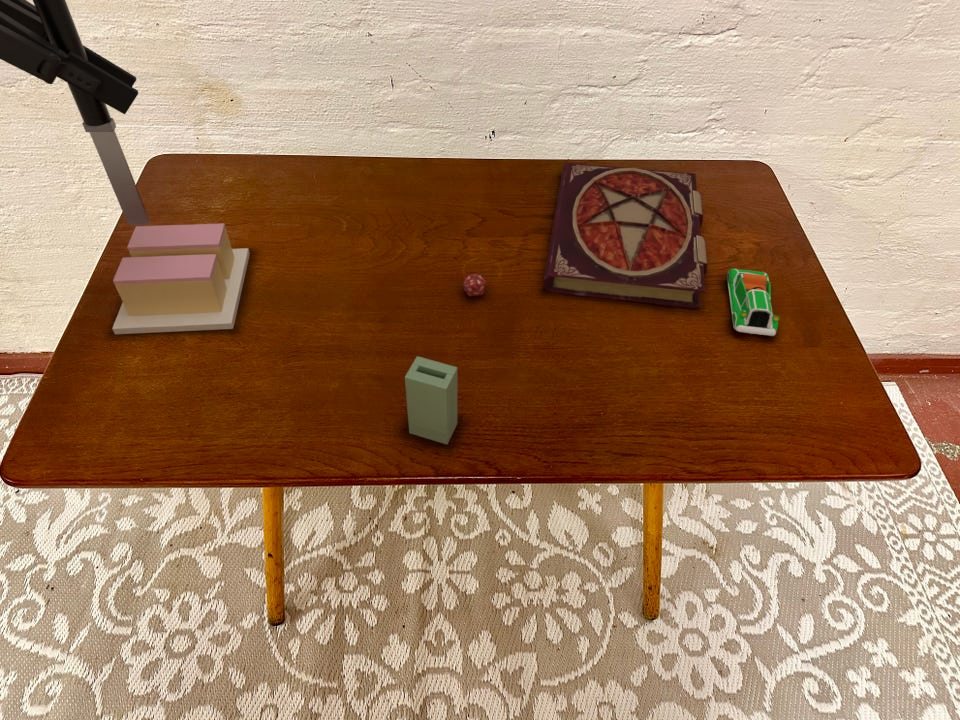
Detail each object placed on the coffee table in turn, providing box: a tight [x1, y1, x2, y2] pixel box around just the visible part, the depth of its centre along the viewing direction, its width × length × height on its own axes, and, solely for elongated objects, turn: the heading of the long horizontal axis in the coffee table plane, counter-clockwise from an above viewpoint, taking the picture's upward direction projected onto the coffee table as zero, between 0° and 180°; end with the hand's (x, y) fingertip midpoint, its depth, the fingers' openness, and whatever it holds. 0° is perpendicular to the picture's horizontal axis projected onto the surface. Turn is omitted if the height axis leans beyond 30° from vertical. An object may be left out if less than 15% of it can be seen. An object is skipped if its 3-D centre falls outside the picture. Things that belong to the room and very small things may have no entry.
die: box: [462, 273, 487, 297], centre depth 88 cm, size 3×3×3 cm
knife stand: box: [404, 355, 459, 445], centre depth 71 cm, size 3×4×9 cm
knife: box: [32, 0, 151, 226], centre depth 71 cm, size 3×3×26 cm
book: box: [542, 162, 708, 310], centre depth 97 cm, size 28×21×5 cm
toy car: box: [726, 267, 781, 337], centre depth 87 cm, size 12×5×4 cm, turn 171°
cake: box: [111, 222, 251, 335], centre depth 86 cm, size 15×14×7 cm
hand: (130, 95), depth 71 cm, fingers closed on knife, 3 cm apart
